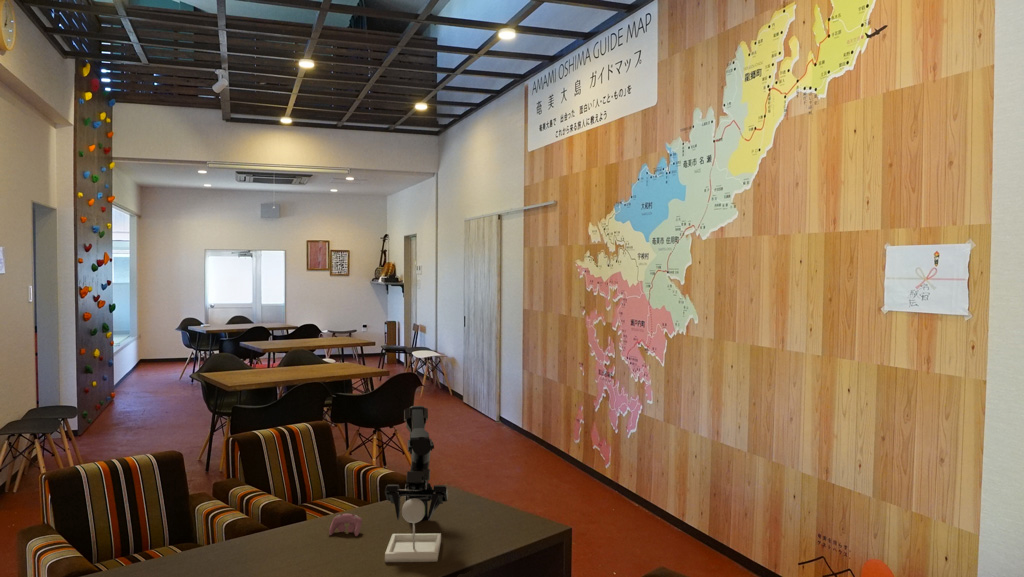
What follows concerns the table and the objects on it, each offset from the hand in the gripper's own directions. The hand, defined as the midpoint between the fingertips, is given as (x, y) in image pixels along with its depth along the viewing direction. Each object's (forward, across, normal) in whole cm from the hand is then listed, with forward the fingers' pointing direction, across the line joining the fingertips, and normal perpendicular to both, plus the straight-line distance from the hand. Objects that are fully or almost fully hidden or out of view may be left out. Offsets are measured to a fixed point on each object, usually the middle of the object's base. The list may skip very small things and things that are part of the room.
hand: (413, 519), depth 199 cm
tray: (+6, 0, +8) cm, 10 cm away
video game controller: (-4, -24, +18) cm, 31 cm away
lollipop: (+6, 0, +8) cm, 10 cm away
